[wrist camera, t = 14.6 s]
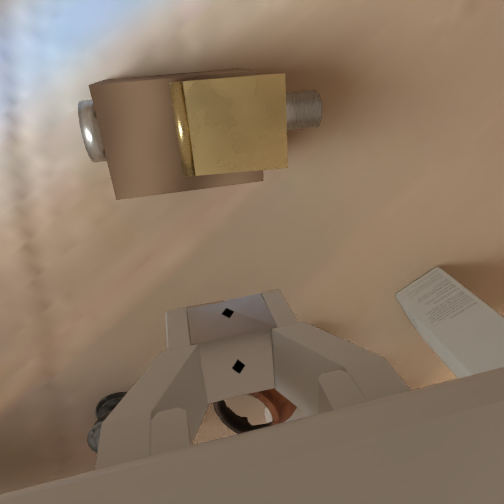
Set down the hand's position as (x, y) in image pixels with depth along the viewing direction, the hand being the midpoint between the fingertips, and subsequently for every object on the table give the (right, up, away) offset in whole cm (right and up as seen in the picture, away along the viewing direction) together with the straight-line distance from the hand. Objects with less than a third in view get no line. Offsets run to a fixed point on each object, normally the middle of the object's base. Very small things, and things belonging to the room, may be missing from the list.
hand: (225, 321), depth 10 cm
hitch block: (-5, +12, +21) cm, 24 cm away
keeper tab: (-1, +10, +14) cm, 17 cm away
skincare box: (+21, -4, +35) cm, 41 cm away
